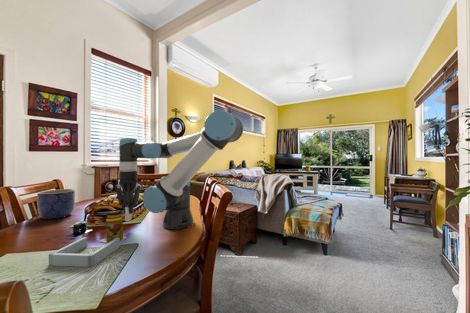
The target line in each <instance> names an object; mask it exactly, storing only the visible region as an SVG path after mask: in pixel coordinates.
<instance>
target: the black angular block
mask: <svg viewBox="0 0 470 313" xmlns="http://www.w3.org/2000/svg"><path fill="white" fill-rule="evenodd" d="M93 230H94V229H91V228H90V229H89V228H87V223H86V222H78V223H76V224H73V227H72V233H70V234H67V235H65V237H66V238H67V237H70V238H76V237H79V236H81V235H83V234H86V233H89V232H91V231H93Z"/></svg>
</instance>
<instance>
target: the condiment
mask: <svg viewBox="0 0 470 313" xmlns="http://www.w3.org/2000/svg"><path fill="white" fill-rule="evenodd" d="M122 213H123V212H122V210H121V209H118V210H113V211H109V212H108V213H107V217H106V220H105V237H106V238H103V239H100V240H98V242H100V243H101V242H102V243H106V244H108V243H109V242H111V241H112V240H114V239H116V238H120V242H121V241H124V240H126V239H127V238H129V237H128V236H125V235H124V217H123V216H122V215H123V214H122Z"/></svg>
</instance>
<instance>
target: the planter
mask: <svg viewBox="0 0 470 313" xmlns="http://www.w3.org/2000/svg"><path fill="white" fill-rule="evenodd" d="M36 201H37V202H36V203H37V204H36V205H37V214H38V216H40V217H41V218H42V219H45V220H54V219H53V218H57V219H61V218H60V217H62V218H65V217H64V216H66V217H68V216H69V215H71V214H72V213H73V212H74V210H75V206H76V204H75V203H76V191H75V189H73V188H64V189H63V188H61V189H52V190H51V189H50V190H45V191H44V190H43V191H39V192H37V199H36Z"/></svg>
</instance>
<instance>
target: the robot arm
mask: <svg viewBox="0 0 470 313" xmlns="http://www.w3.org/2000/svg"><path fill="white" fill-rule="evenodd" d="M203 125H204V126H203V127H202V129H201V130H200V131H198V132H196V133H193V134H190V135H186V136H182V137H180V138H176V139H173V140H169V141H166V142H163V143H161V142H160V143H159V142H156V141H140V142H139V141H138V139H137V138H135V137H122V138H120V139H119V146H118V147H119V165H118V166H119V168H118V169H119V175H118V176H119V181H118V184H115V185H114V186H113V187H114V190H115V191H116V196H117V200H118V206H121V207H122V208H123V214H124V221H125V222H129V221H131V220H132V214H133V213H134V206H136V205H138V202H139V197H140V194H141V190H142V188H143V184H140V183H139V181H138V171H137V170H138V159H149V160H152V159H153V160H154V159H170V158H172V157H173V156H176V155H179V154H183V153H186V152H187V153H186V154H185V155H184V156H183V157H182V158H181V159H180V161H179V162H178V163H177V164H176V165H175V167H174V168H173V169H172V170H171V171H170V172H169V173H168V175H166V176H165V175H164V176H161V178H160V179H158V181H157V182H156V183H155V184H154V185H151V186H149V187H147V188H146V189H145V190H144V192H143V195H142V200H143V204H144V207H145V208H146V209H147V211H148V212H151V213H152V214H159V213H163V212H164V211H165V215H164V218H163V221H162V227H163V228H164V229H166V230H167V229H168V230H182V229H181V228H183V229H186V228H185V227H187V228H189V226H190V227H191V225H192V224H193V225H194V217H193V214H192V210H191V182H190V181H191V180H192V179H193V177H194V176H195V175H196V174H197V173H198V172H199V171H200V170H201V168H202V167H204V165H205V164H206V163H207V162H208V161H209V159H210V158H211V157H212V156H213V155H214V154H216V152H217V151H223V150H224V148H225V147H226V146H227V145H228V144H229V143H234V142H237V141H238V140H239V139H240V138H241V137H242V136H243V132H244V127H243V126H244V125H243V123H242V121H241V120H240V119H239V118H237V117H236V116H234V114H232V113H230V112H229V111H225V110H219V109H218V110H214V111H213V112H211V113H210V114H208V115H207V117H206V118H205V120H204V124H203ZM193 225H192V226H193Z"/></svg>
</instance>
